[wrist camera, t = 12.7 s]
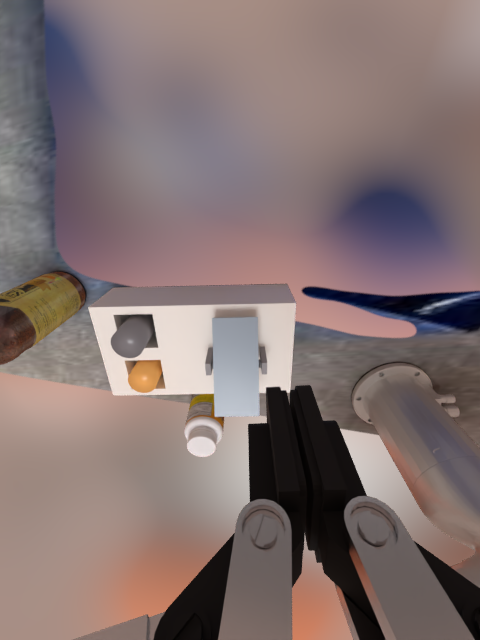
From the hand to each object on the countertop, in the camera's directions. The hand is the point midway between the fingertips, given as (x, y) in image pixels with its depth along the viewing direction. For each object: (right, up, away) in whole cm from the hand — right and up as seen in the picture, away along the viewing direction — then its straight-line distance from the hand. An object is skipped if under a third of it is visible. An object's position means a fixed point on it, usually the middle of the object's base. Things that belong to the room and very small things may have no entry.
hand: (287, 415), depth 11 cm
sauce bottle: (-26, +8, +28) cm, 39 cm away
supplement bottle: (-7, -9, +36) cm, 38 cm away
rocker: (-2, -1, +21) cm, 22 cm away
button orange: (-14, -1, +31) cm, 34 cm away
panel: (-7, +3, +30) cm, 31 cm away
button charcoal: (-14, +4, +27) cm, 30 cm away
